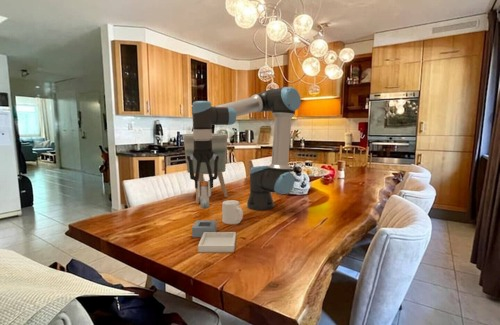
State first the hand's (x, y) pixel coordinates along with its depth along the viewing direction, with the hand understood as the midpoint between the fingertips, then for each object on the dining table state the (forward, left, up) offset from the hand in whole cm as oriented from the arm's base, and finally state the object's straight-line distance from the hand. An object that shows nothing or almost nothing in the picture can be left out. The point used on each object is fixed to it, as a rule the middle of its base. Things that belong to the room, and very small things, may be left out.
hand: (204, 195), depth 116 cm
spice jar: (0, 0, -5) cm, 5 cm away
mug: (-11, -14, -17) cm, 24 cm away
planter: (+8, -56, -17) cm, 59 cm away
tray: (-7, +12, -16) cm, 21 cm away
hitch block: (0, 0, -16) cm, 16 cm away
